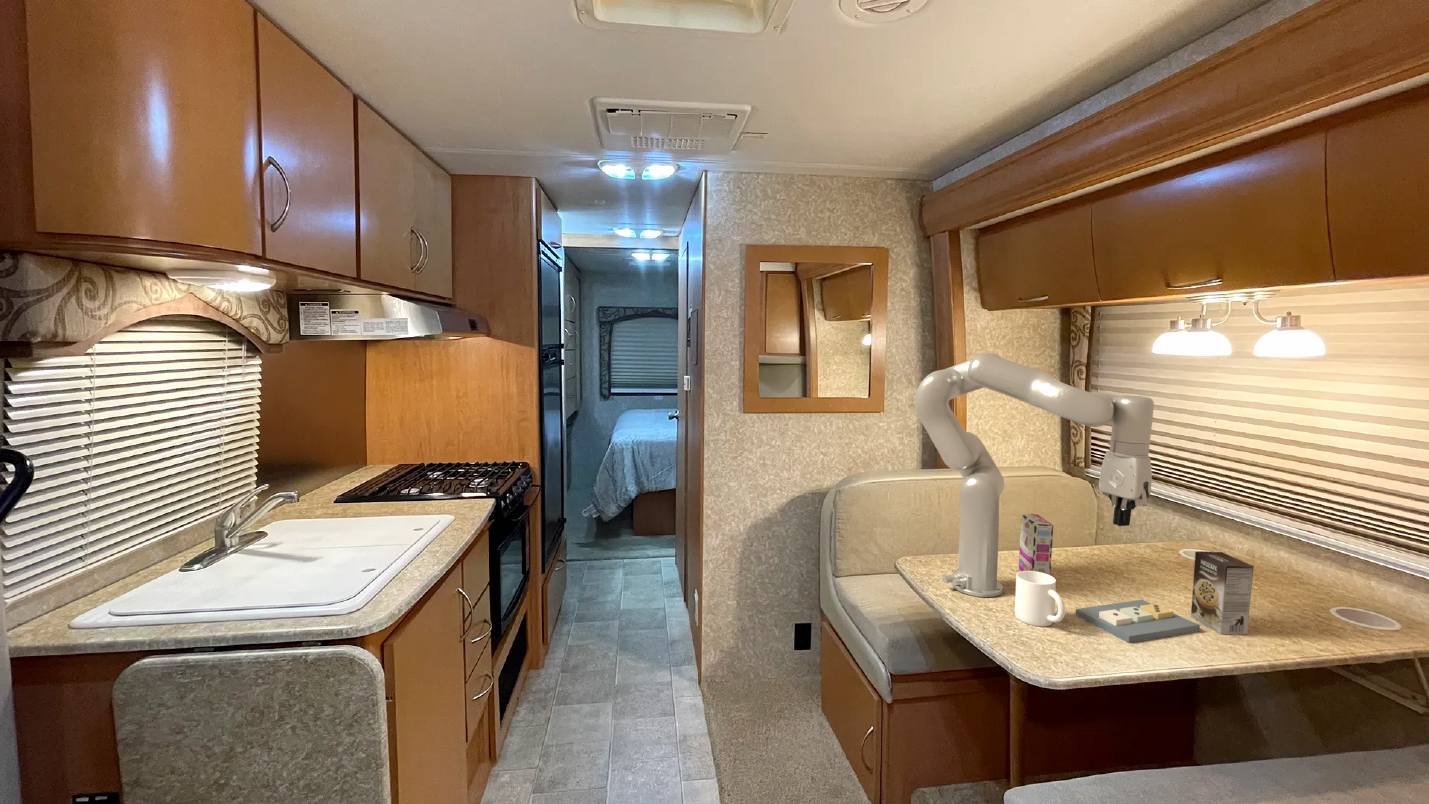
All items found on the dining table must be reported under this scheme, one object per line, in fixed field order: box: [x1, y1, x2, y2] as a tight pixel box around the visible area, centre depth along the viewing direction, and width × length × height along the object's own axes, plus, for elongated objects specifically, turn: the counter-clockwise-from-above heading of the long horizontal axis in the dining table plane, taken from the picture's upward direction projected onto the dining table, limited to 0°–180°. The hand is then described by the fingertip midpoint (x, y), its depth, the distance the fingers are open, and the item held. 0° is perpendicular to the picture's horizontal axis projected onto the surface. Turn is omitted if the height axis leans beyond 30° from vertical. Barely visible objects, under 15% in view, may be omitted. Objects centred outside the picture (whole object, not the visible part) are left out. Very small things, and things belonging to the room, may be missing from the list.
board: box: [1075, 599, 1201, 644], centre depth 140 cm, size 20×14×2 cm
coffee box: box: [1190, 550, 1255, 636], centre depth 138 cm, size 9×6×16 cm
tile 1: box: [1099, 609, 1132, 626], centre depth 139 cm, size 4×4×2 cm
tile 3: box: [1140, 603, 1174, 620], centre depth 142 cm, size 4×4×2 cm
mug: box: [1014, 570, 1066, 627], centre depth 140 cm, size 12×8×10 cm
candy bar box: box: [1018, 513, 1054, 576], centre depth 168 cm, size 11×5×16 cm, turn 171°
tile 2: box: [1120, 607, 1153, 623], centre depth 140 cm, size 4×4×2 cm
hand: (1121, 524), depth 143 cm, fingers closed
